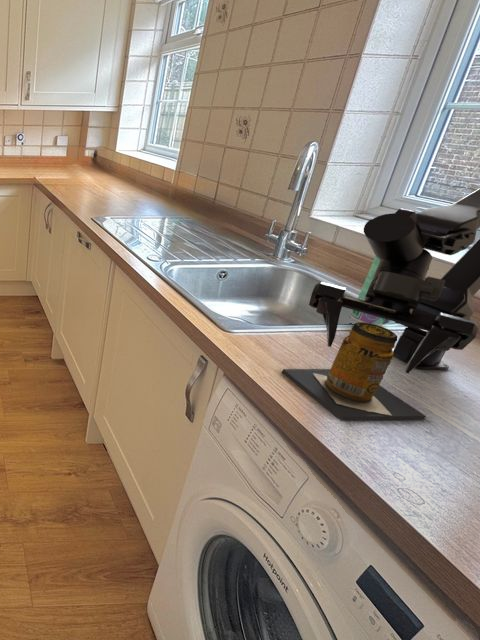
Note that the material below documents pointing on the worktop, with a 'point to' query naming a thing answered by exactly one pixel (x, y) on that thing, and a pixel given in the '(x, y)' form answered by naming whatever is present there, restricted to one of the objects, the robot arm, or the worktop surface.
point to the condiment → (360, 367)
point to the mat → (345, 413)
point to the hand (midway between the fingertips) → (366, 358)
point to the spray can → (358, 315)
